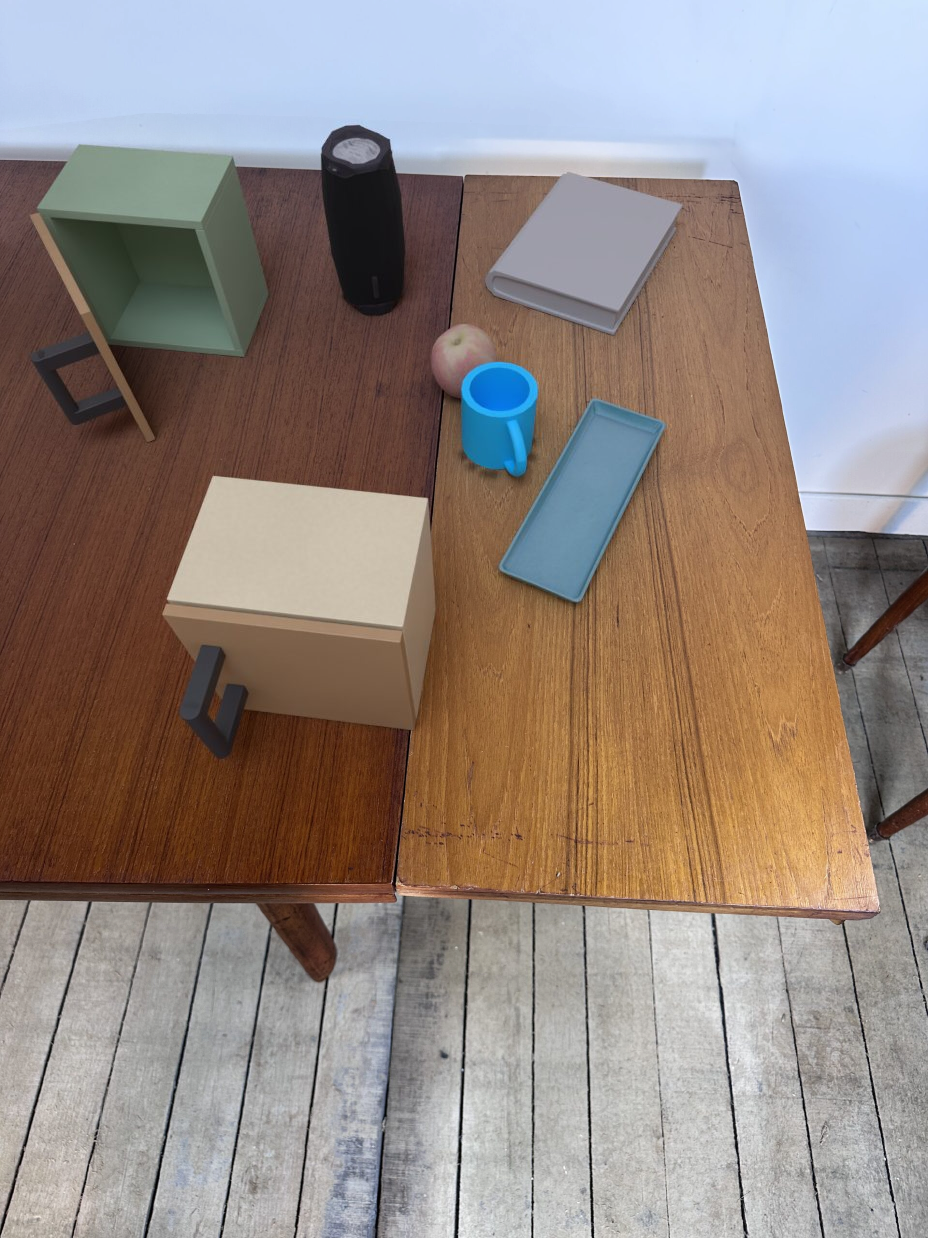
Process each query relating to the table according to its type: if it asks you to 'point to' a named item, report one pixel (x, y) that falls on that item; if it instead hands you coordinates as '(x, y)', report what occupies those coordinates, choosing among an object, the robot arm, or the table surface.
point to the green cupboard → (159, 247)
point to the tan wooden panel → (82, 356)
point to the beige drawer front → (288, 671)
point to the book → (585, 252)
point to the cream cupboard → (314, 559)
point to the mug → (498, 416)
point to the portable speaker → (364, 217)
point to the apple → (460, 356)
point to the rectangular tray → (582, 500)
